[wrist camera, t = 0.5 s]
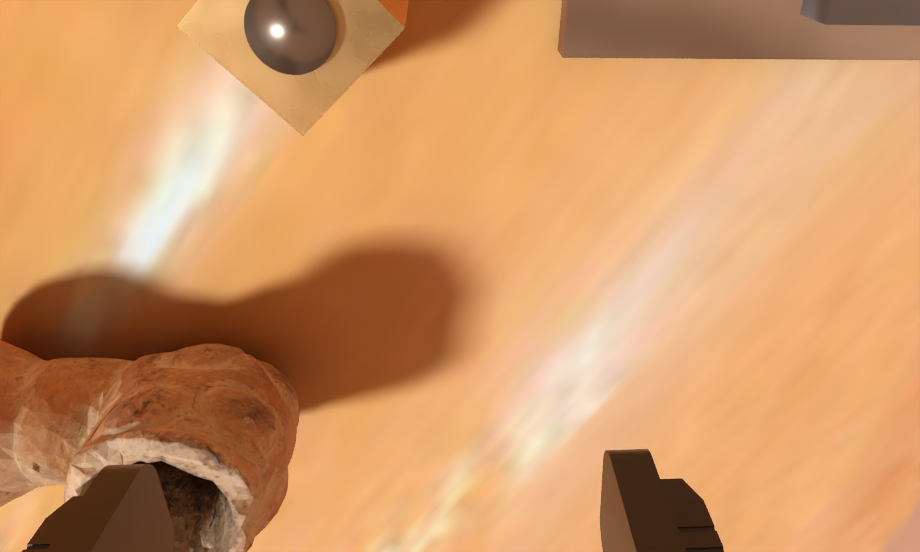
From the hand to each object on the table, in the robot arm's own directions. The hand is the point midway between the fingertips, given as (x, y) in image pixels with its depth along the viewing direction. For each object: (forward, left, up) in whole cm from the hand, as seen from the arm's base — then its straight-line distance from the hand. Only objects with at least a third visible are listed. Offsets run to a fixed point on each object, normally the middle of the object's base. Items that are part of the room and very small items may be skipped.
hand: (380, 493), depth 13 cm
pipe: (+13, -13, -20) cm, 28 cm away
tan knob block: (-5, -3, -20) cm, 21 cm away
